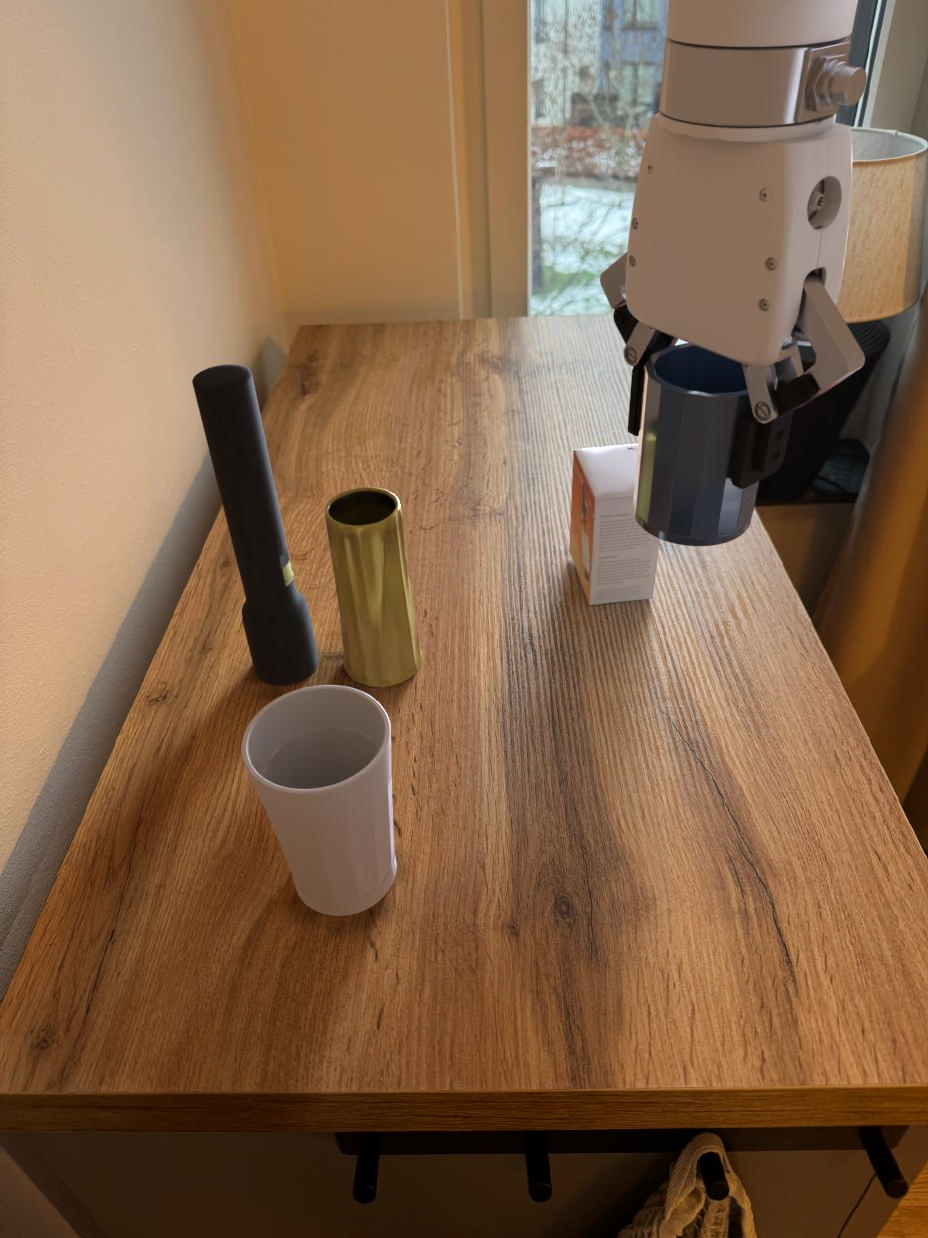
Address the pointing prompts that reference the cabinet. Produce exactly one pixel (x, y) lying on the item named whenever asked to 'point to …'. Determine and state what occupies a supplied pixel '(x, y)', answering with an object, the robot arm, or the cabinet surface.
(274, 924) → the cabinet surface
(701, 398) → the tumbler
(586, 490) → the small box
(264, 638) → the flashlight
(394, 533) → the vase
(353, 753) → the cup
